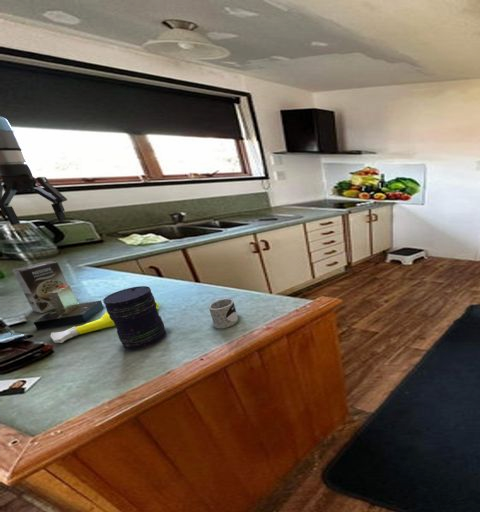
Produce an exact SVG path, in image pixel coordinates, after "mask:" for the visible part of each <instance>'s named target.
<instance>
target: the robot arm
mask: <svg viewBox="0 0 480 512" xmlns="http://www.w3.org/2000/svg"><path fill="white" fill-rule="evenodd" d="M0 177H1V179H0V211H1V213H2V215H3V216H4V217H7V219H8V221H9V224H10V225H11V226H16V225H19V224H21V221H20V219H19V217H18V215H17V213H16V211H15V209H14V208H13V206H12V205H10V203H11V201H12V200H13V198H14V197H15V195H16V193H17V192H21V191H25V192H26V191H31V192H34V193H36V194H37V195H39V196H41V197H43V198H44V199H46V200H48V201H49V202H51V207H52V209H53V213H54V214H55V217H56V219H57V220H58V222H64V221H66V220H67V218H66V215H65V213H64V212H65V208H64V205H63V203H64V202H67V201H68V198H67V197H65V196H64V195H63V194H62V193H61V191H59V190H58V189H57V188H56V187H54V185H52V184H51V183H50V182H49V180H48V178H47V177H45V176H38V177H37V176H36V177H35V176H34V172H33V170H32V168H31V167H30V165H29V164H28V159H27V157H26V156H25V154H24V151H23V149H22V148H21V146H20V143H19V142H18V138H17V136H16V134H15V130H14V129H13V127H12V125H11V124H10V122H9V120H8V119H7V118H6V117H3V116H1V115H0ZM38 184H39V185H38ZM4 185H6V187H5V189H4ZM41 186H42V187H41ZM3 191H4V193H3Z"/></svg>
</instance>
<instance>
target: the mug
mask: <svg viewBox="0 0 480 512" xmlns="http://www.w3.org/2000/svg"><path fill="white" fill-rule="evenodd" d="M234 302H235V301H234V299H232V297H228V298H222V299H218V300H215V301H214V302H212V303H211V304H209V306H208V310H209V313H210V316H211V320H212V323H213V327H214V328H215V329H226V328H229V327H232V326H233V325H235V324H236V323H237V322H238V321H239V317H238V313H237V310H236V306H235V303H234Z"/></svg>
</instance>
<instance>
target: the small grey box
mask: <svg viewBox="0 0 480 512" xmlns="http://www.w3.org/2000/svg"><path fill="white" fill-rule="evenodd" d="M47 295H48V296H49V298H50V300H51V302H52V304H53V306H54V308H55V310H56V312H57V314H58V315H64V314H68V313H70V312H71V311H73V310H74V309H75V308H77V307H78V306H79V304H78V303H79V302H78V300H77V298H76V296H75V294H74V291H73V290H72V287H71V286H70V284H68V285H62V286H58V288H56V289H54V290H52V291H51V292H49V293H47Z"/></svg>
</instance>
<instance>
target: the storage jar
mask: <svg viewBox="0 0 480 512" xmlns="http://www.w3.org/2000/svg"><path fill="white" fill-rule="evenodd" d="M155 301H156V298H155V296H154V294H153V292H152V290H151V287H150V286H145V285H141V286H139V285H138V286H132V287H128V288H123V289H121V290H117V291H115V292H112V293H111V294H108V295H107V296H105V297H104V298H103V299H102V303H103V305H104V307H105V309H106V312H108V314H109V317H110V318H111V320H113V321H114V324H115V326H114V327H115V328H116V334H117V336H118V339H119V342H121V345H123V346H122V347H123V349H124V351H126V352H127V351H128V352H134V351H140V350H144V349H147V348H150V347H152V346H154V345H156V344H158V343H159V342H161V341H162V340H163V339H165V338H166V336H167V334H168V333H167V330H166V327H165V323H164V321H163V319H162V316H160V314H159V311H158V309H157V308H156V302H157V301H156V302H155Z"/></svg>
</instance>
